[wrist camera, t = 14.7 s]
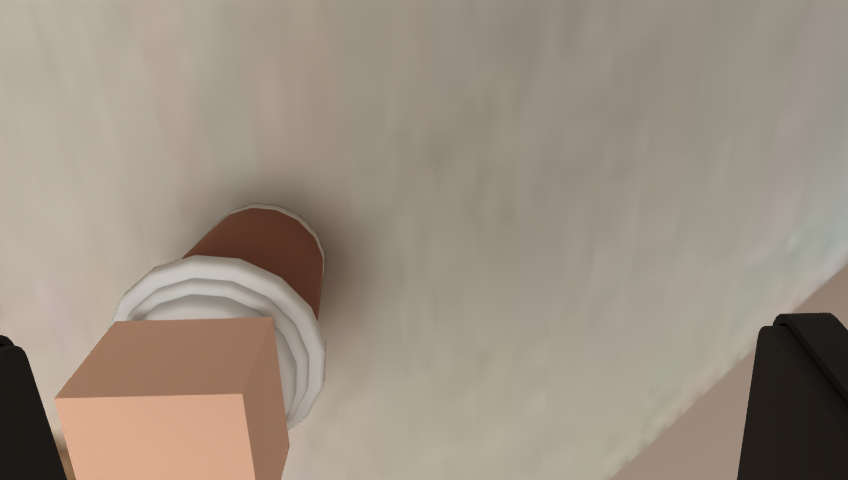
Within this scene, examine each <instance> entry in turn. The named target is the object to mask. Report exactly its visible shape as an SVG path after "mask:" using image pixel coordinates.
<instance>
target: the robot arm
mask: <svg viewBox="0 0 848 480" xmlns="http://www.w3.org/2000/svg"><path fill="white" fill-rule="evenodd" d="M0 480H67V478H66V475H65V472H64V469H63V466H62V463H61V459H60V456H59V453H58V450H57V447H56V444H55V441H54V438H53V435H52V432H51V429H50V426H49V423H48V419H47V416H46V413H45V410H44V407H43V404H42V401H41V398H40V395H39V392H38V389H37V386H36V383H35V380H34V376H33V373H32V370H31V367H30V364H29V361H28V358H27V356H26V353H25V351H24V350H23V349H22V348H21V347H18V346H14V344H13V342H12V341H11V340H10V339H9V338H8V337H5V336H3V335H0ZM737 480H848V330H847V329H846V328H845V327H844V326H843V325H842V323H841V322H840V321H839V320H838V319H837V318H836V317H835V316H834V315H832V314H831V313H797V314H780V315H778V316H777V317H776V319H775V321H774V322H773V326H764V327H762V328H761V330H760V332H759V335H758V339H757V346H756V354H755V360H754V367H753V374H752V381H751V388H750V394H749V401H748V408H747V415H746V422H745V429H744V435H743V442H742V449H741V456H740V463H739V470H738V477H737Z"/></svg>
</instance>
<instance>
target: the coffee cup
mask: <svg viewBox="0 0 848 480" xmlns="http://www.w3.org/2000/svg"><path fill="white" fill-rule="evenodd" d="M324 260H325V253H324V250H323V248H322V245H321V243H320V240H319V238H318V235H317V233H316V232H315V231H314V230H313V229H312V228H311V227H310V226H309V225H308V224H307V223H306V221H305V220H304V219H303V218H302V217H301V216H299V215H297V214H295V213H293V212H291V211H289V210H287V209H284V208H282V207H280V206H278V205H266V204H251V205H247V206H244V207H241V208H238V209H234V210H232V211H230V212H229V213H228V214H227V215H226V216H225V217H223V218H222V219H221V220H220V221H219V222H218V223H216V224H215V226H214V227H213V228H212V230H211V231H210V232H209V233H208V234H207V235H205V236H204V237H203V238H202V239H201V240H200V241H199V242H198V243H197V244H196V245H195V246H194V247H193V248H192V249H191V250H190V251H189V252H188V253H187V254H186V255H185V256H184V257H183V258H182V259H181V260H177V261H174V262H170V263H167V264H164V265H160V266H157V267H155V268H153V269H152V270H151V271H150V272H149V273H148V274H146V275H145V276H144V277H143V278H142V279H141V280H140V281H138V282H137V283H136V284H135V285H134V286H133V287H131V288H130V289H129V290H128V291H127V292H126V293H125V294H124V295H123V296H122V298H121V299H120V301H119V303H118V306H117V308H116V311H115V313H114V316H113V318H112V321H111V323H110V326H109V328H110V327H111V326H112V325H113V323H114V322H115V321H143V320H185V319H223V318H255V317H273V322H274V330H275V337H276V345H277V353H278V361H279V369H280V377H281V385H282V392H283V400H284V408H285V415H286V423H287V431H289V430H290V429H291V428H293V427H294V426H295V425H297V424H298V423H300V422H301V421H302V420H304V419H305V418H306V417H307V415H308V413H309V411H310V410H311V408H312V406H313V404H314V402H315V401H316V399H317V397H318V395H319V393H320V392H321V390H322V388H323V385H324V381H325V365H326V341H325V339H324V336H323V334H322V331H321V329H320V327H319V324H318V322H317V320H318V312H319V304H320V295H321V287H322V279H323V276H324ZM109 328H108V330H109ZM108 330H107V331H108Z"/></svg>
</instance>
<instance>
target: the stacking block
mask: <svg viewBox="0 0 848 480" xmlns="http://www.w3.org/2000/svg"><path fill="white" fill-rule="evenodd" d="M54 399H55V403H56V407H57V410H58V414H59V418H60V421H61V425H62V429H63V432H64V436H65V440H66V443H67V447H68V451H69V455H70V458H71V462H72V466H73V469H74V473H75V477H76V480H281V476H282V473H283V469H284V465H285V461H286V458H287V454H288V450H289V438H288V431H287V423H286V415H285V408H284V400H283V392H282V385H281V377H280V369H279V361H278V353H277V345H276V337H275V330H274V322H273V317H255V318H223V319H185V320H143V321H115V322H114V323H113V325H112V326H111V327H110V328H109V330H108V331H107V332H106V334H105V335H104V336H103V337H102V339H101V340H100V341H99V342H98V344H97V345H96V346H95V348H94V349H93V350H92V351H91V353H90V354H89V355H88V356H87V358H86V359H85V360H84V361H83V363H82V364H81V365H80V367H79V368H78V369H77V370H76V372H75V373H74V374H73V375H72V377H71V378H70V379H69V381H68V382H67V383H66V384H65V386H64V387H63V388H62V389H61V391H60V392H59V393H58V394H57V396H56V397H55V398H54Z"/></svg>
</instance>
